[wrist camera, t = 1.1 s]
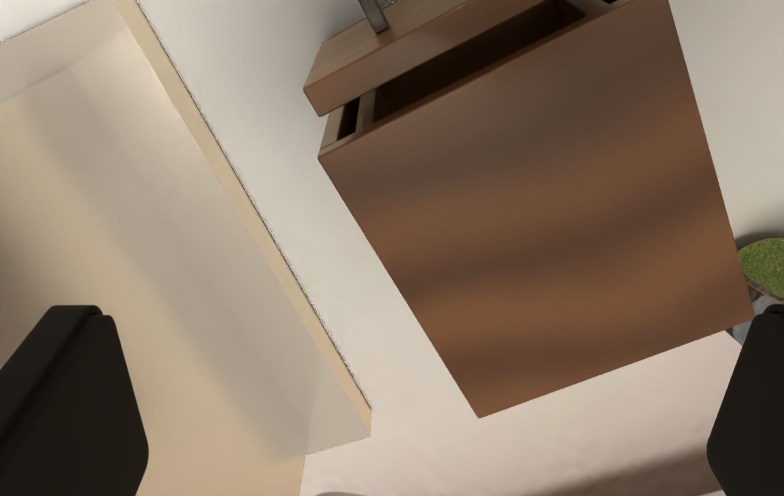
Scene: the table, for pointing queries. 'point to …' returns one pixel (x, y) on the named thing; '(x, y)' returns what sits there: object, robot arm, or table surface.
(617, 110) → the cabinet
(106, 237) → the award
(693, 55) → the table surface
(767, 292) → the beverage can
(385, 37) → the drawer
